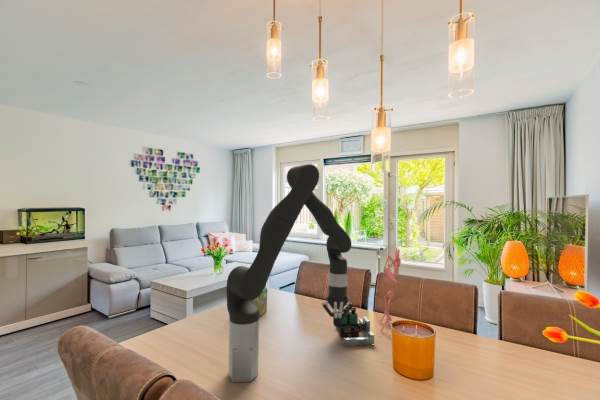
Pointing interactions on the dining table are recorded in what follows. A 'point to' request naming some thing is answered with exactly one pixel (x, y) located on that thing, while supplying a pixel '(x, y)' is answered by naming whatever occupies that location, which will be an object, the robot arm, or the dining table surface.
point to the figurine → (387, 272)
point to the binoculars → (349, 324)
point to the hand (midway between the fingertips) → (336, 326)
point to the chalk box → (261, 302)
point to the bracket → (365, 330)
